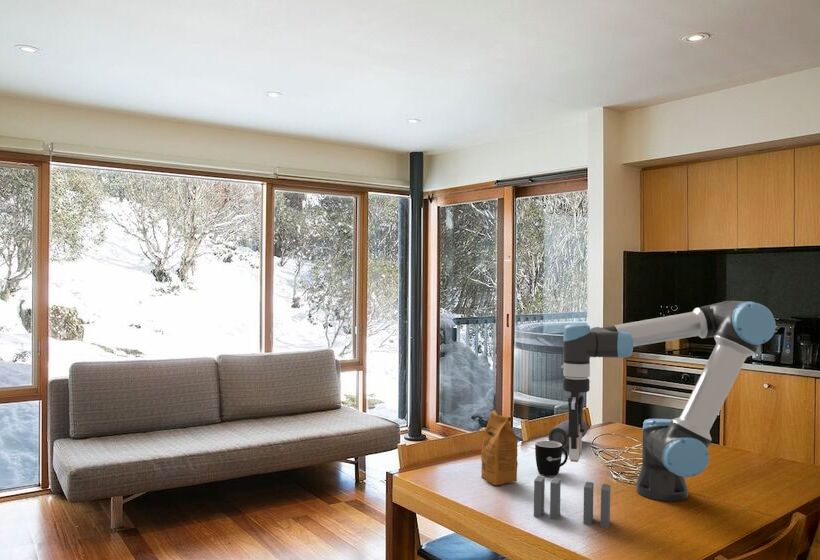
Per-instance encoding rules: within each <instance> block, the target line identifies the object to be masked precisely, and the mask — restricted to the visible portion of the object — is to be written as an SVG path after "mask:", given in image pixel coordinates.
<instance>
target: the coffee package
mask: <svg viewBox="0 0 820 560" xmlns="http://www.w3.org/2000/svg"><path fill="white" fill-rule="evenodd" d="M512 420H513V419H512V417H510V416H505V415H504V416H503V415H498V413H497V412H496V410H492V411H491V413H490V416H489V419H488V422H487V425H486V427H485V430H484V433H483V439H482V445H481V446H482V447H481V454H480V456H481V460H480V461H481V478H484V479H485V481H486V482H487V483H489V484H492V485H493V486H500V485H503V484H511V483H512V484H513V483H514V482H517V481H518V475H517V474H518V465H519V464H518V437H517V435H516V433H515V430H514V429H513V428H512V426H511V423H510V422H512Z"/></svg>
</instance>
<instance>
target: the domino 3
mask: <svg viewBox="0 0 820 560" xmlns="http://www.w3.org/2000/svg"><path fill="white" fill-rule="evenodd" d="M580 459H581V455H580V424H579V460H580ZM579 460H571V459H570V463H571V462H573V463H578V462H580V461H579Z"/></svg>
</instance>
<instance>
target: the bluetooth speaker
mask: <svg viewBox="0 0 820 560" xmlns="http://www.w3.org/2000/svg"><path fill="white" fill-rule="evenodd" d="M582 429H584V432H580V433H582V438H584V437H585V436H586V434H587V432H588V430H589V429H588V424H587V422H586V421H585V420H584V419H583V428H582ZM568 433H569V418H568V419H566V420H564V421H562V422H560V423H559V424H557V425H555V426H554V427H553V428H551V429H550V431H549V433H548V441H555V442H558V443H561V444H562V448H564V449H565V450H569V437H567V435H568Z"/></svg>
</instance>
